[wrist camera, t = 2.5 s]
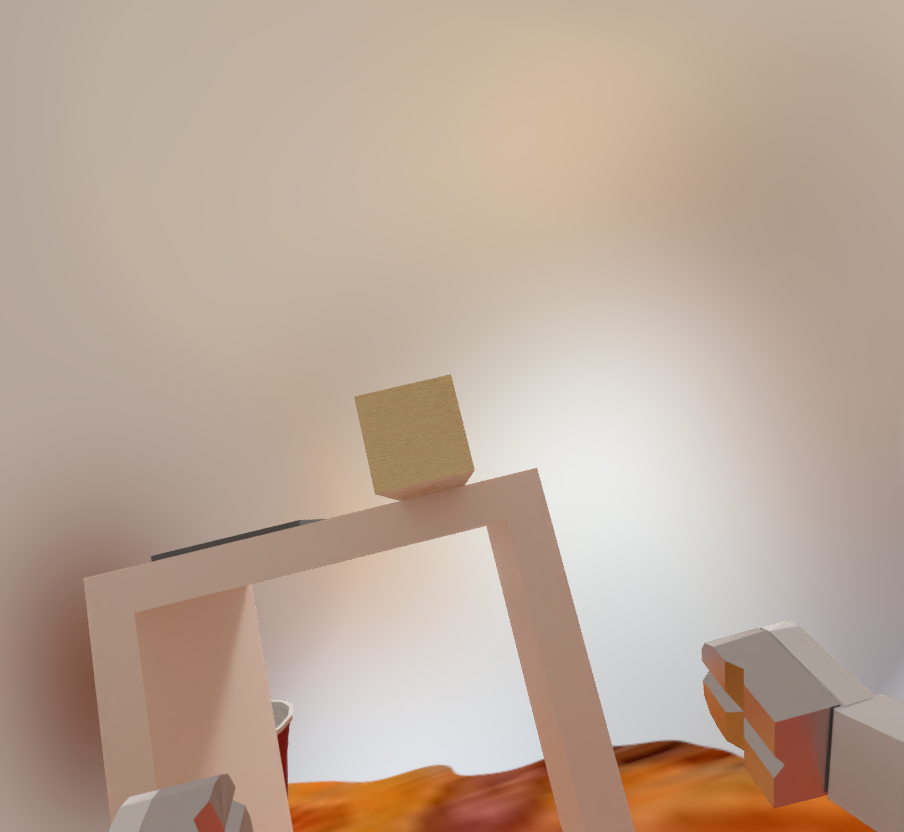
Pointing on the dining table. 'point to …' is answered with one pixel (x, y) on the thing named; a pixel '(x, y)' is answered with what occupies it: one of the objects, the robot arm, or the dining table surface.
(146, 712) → the white upright block
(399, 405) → the light wood bar
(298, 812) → the dining table surface
